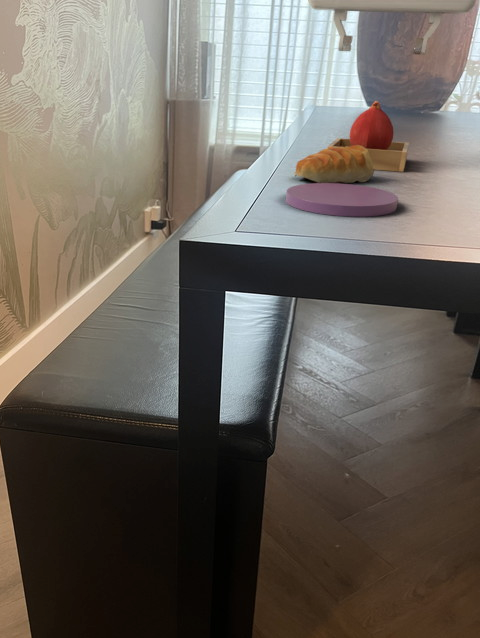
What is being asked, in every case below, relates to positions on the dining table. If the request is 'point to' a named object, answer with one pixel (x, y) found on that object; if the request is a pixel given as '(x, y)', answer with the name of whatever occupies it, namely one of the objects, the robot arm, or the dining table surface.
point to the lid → (341, 199)
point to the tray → (382, 155)
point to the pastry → (337, 165)
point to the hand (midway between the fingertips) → (381, 53)
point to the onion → (372, 129)
